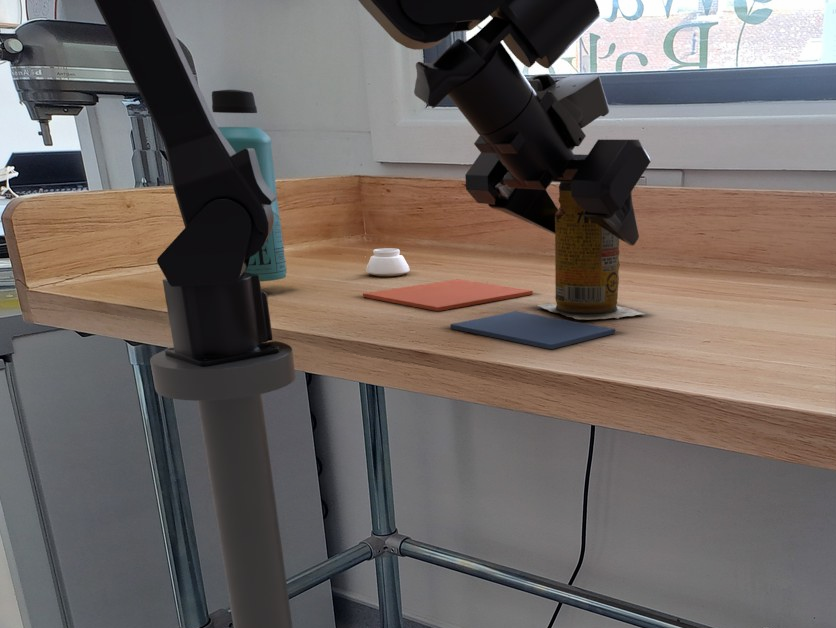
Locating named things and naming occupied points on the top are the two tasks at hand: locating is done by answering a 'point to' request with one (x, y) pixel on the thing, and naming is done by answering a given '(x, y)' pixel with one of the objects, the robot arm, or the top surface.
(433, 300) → the terracotta mat
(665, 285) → the top surface
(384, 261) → the white jar
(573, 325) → the slate mat
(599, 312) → the condiment
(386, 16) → the robot arm
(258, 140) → the beverage bottle
